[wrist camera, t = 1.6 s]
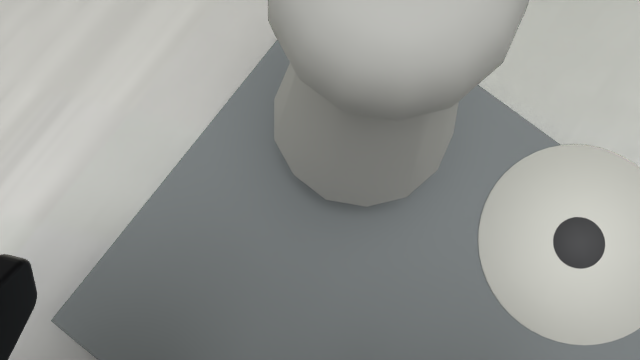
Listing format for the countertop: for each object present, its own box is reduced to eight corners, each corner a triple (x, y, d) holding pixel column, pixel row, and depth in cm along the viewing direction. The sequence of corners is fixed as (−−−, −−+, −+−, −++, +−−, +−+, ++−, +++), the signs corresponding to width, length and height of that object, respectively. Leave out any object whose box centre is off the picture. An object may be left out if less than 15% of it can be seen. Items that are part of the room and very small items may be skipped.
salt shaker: (349, 244, 21) (379, 232, 8) (246, 123, 22) (125, -64, 9) (472, 138, 22) (686, -31, 9) (368, 23, 22) (422, -299, 9)
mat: (642, 808, 19) (648, 821, 19) (55, 319, 21) (49, 321, 21) (922, 376, 21) (934, 379, 20) (344, -40, 23) (344, -46, 22)
